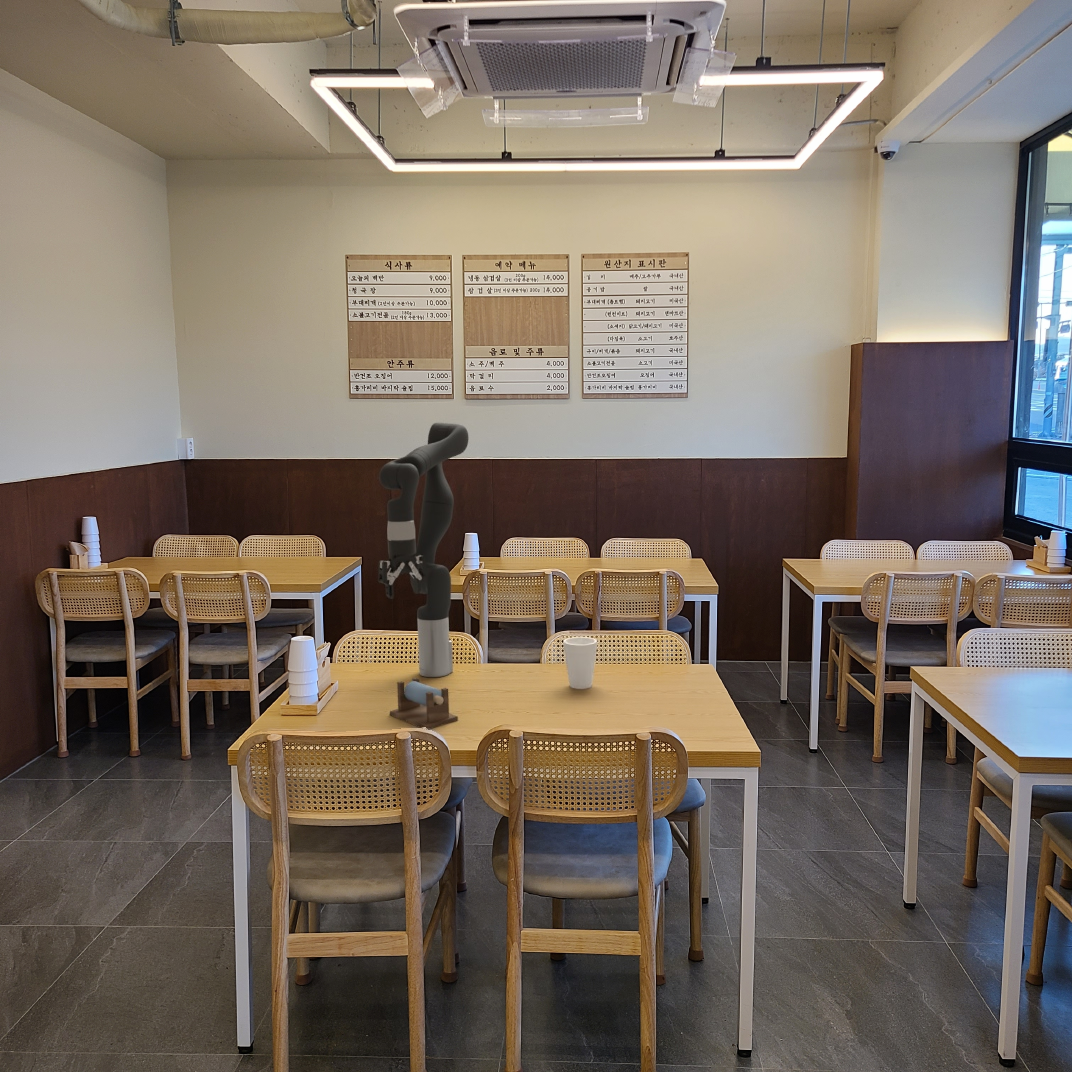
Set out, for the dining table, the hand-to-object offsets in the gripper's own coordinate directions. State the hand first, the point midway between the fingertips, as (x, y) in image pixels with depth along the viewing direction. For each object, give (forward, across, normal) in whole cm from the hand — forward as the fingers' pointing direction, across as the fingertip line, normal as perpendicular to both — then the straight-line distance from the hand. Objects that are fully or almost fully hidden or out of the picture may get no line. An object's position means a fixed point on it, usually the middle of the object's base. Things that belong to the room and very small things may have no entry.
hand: (403, 595), depth 255 cm
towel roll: (+24, +8, +19) cm, 32 cm away
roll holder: (+28, +8, +19) cm, 35 cm away
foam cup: (+28, -40, +28) cm, 56 cm away
